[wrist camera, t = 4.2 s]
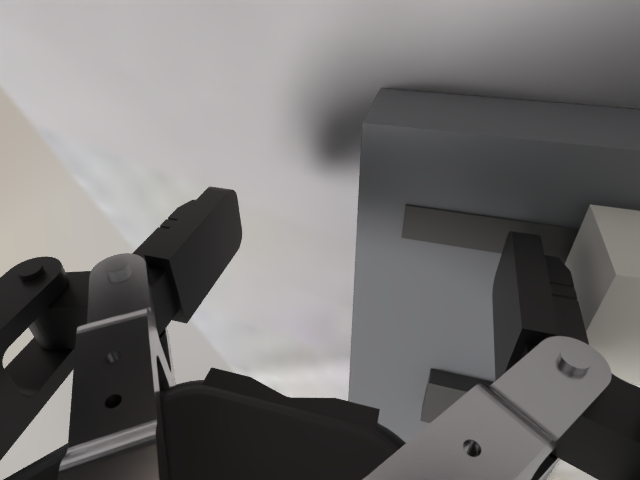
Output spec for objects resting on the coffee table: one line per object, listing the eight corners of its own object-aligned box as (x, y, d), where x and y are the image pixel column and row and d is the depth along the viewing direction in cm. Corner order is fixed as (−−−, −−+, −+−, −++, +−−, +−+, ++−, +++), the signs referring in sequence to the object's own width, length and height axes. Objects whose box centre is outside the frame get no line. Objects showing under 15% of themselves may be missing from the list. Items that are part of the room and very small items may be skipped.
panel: (380, 88, 14) (356, 132, 12) (698, 114, 12) (763, 175, 10) (355, 440, 28) (340, 501, 25) (506, 480, 26) (509, 552, 23)
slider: (589, 204, 11) (615, 274, 9) (679, 216, 11) (729, 292, 9) (551, 294, 13) (565, 370, 11) (626, 307, 13) (655, 388, 11)
